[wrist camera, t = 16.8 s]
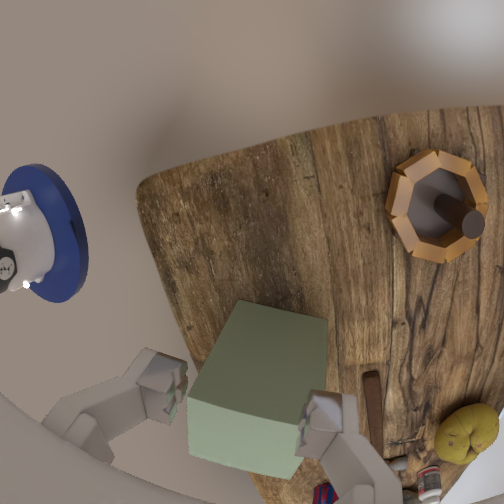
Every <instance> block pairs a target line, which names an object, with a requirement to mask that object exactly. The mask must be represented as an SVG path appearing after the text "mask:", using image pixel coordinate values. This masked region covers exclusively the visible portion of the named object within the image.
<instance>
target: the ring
mask: <svg viewBox="0 0 504 504" xmlns="http://www.w3.org/2000/svg"><path fill="white" fill-rule="evenodd" d="M471 163H472V162H470V161H468V160H465V159H463V158H460V157H458V156H455V155H452V154H450V153H447V152H444V151H442V150H438V149H429V150H428V149H424V150H422V151H421V152H419V153H417V154H416V155H414V156H413V157H411V158H410V159H408V160H406V161H405V162H403V163H402V164H400V165H398V166H397V167H396V169H397V171H398V172H399V173H397V172H393V173H392V178H391V182H390V187H389V191H388V195H387V200H386V204H385V209H386V210H387V212H386V213H385V214H386V216H387V217H388V219H389V221H390V223H391V225H392V226H393V228H394V230H395V232H396V234H397V236H398V238H399V240H400V242H401V243H402V245H403V246H404V248H405V249H406V251H407V252H408V253H410V254H411V256H413V257H417V258H421V259H425V260H429V261H433V262H437V263H441V264H443V263H444V261H446V262H447V263H449V262H450V261H452V260H453V259H455V258H456V257H458V256H459V255H461V254H462V253H464V252H465V251H467V250H468V249H470V248H471V247H473V246H474V245H476V244H475V241H474V239H468V238H467V237H465V236H464V235H463V234H462V233H461V232H459V231H458V230H457V229H456V228H452V229H451V230H449V231H448V232H446V233H445V234H443V235H441V236H440V237H438V238H437V239H435V238H432V237H428V236H424V235H421V234H417V233H416V231H415V229H414V227H413V225H412V223H411V221H410V219H409V217H408V216H407V213H408V209H409V206H410V202H411V198H412V194H413V189H414V185H415V183H417V182H418V181H420V180H421V179H423V178H425V177H426V176H428V175H429V174H431V173H432V172H434V171H435V170H437V169H439V168H440V169H443V170H446V171H448V172H451V173H454V175H455V177H456V179H457V181H458V184H459V186H460V188H461V190H462V193H463V195H464V197H465V200H464V203H465V204H467V205H469V206H470V207H472V208H474V209H476V210H477V211H479V212H480V213H482V215H483V217H484V219H485V218H486V214H487V211H488V207H489V205H488V204H486V203H485V202H487V201H488V200H489V199H488V197H487V194H486V191H485V189H484V186H483V184H482V181H481V179H480V176H479V174H478V172H477V169H476V167H475V166H473V165H471ZM479 237H480V236H479ZM479 237H478V238H476V239H475V240H479Z"/></svg>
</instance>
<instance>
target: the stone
mask: <svg viewBox="0 0 504 504" xmlns="http://www.w3.org/2000/svg"><path fill="white" fill-rule="evenodd" d="M402 495H403V504H422V502H423V501H421V500H419V496H418V493H414V492H411V491H410V490H402Z"/></svg>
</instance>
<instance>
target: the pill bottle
mask: <svg viewBox="0 0 504 504" xmlns="http://www.w3.org/2000/svg"><path fill="white" fill-rule="evenodd" d="M417 482H418V496H419V500H421V501H423V502H422V504H439V503H440V498H439V497H438V496H439V495H440V494H441V493H442V488H441V480H440V473H439V468H438V467H437V466H431V467H428V468H425V469H423V470H421V471H420V472H418V474H417Z"/></svg>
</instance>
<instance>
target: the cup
mask: <svg viewBox="0 0 504 504" xmlns="http://www.w3.org/2000/svg"><path fill="white" fill-rule="evenodd" d="M338 499H339V497H338V495H337V494H336V492H335V490H334V488H333V486H332V484H323V485H319V486H317V487H316V488H315V490H314V497H313V504H333V503H335V502H336V501H337V500H338Z"/></svg>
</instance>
